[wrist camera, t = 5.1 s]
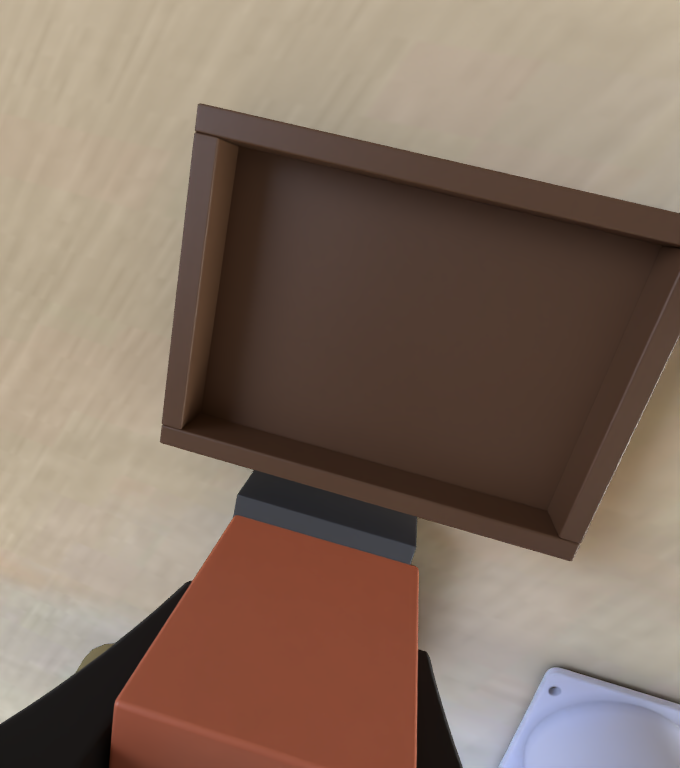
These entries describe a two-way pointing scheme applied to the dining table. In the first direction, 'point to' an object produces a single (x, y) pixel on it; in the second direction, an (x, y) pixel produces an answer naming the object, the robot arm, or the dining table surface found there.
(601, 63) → the dining table surface
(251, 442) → the tray
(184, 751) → the terracotta block
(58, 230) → the dining table surface
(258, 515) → the base block
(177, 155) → the dining table surface
